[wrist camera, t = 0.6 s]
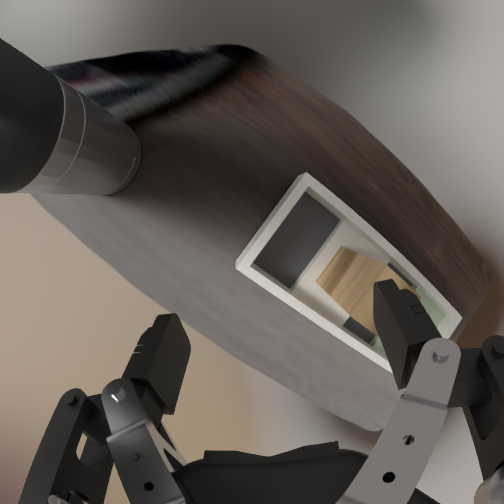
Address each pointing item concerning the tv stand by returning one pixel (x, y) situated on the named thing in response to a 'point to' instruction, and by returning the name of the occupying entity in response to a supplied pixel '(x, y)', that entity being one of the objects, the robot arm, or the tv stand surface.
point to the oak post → (356, 284)
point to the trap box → (318, 257)
